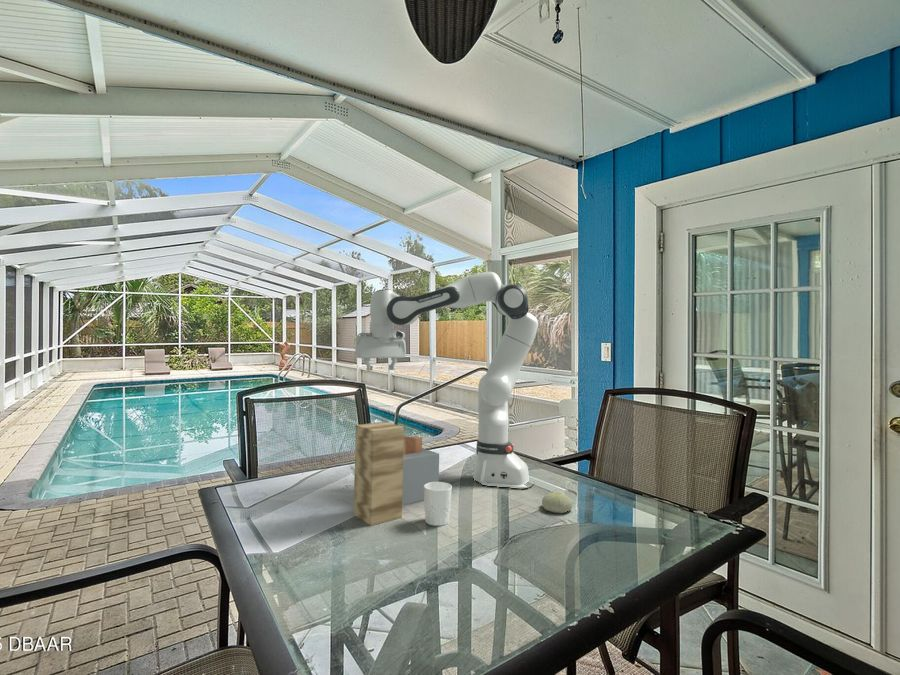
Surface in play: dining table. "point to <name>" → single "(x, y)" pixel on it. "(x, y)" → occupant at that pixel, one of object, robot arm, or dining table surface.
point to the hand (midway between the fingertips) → (380, 370)
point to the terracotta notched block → (412, 444)
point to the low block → (418, 474)
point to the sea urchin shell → (557, 502)
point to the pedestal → (378, 472)
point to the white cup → (437, 503)
